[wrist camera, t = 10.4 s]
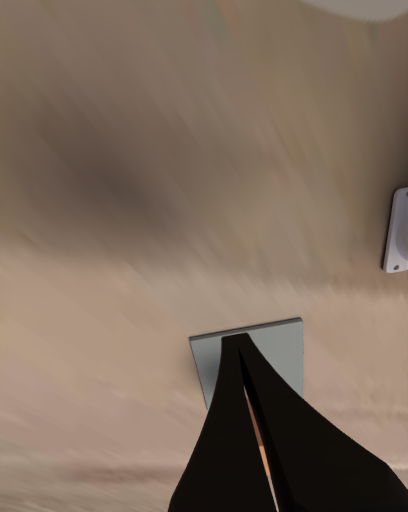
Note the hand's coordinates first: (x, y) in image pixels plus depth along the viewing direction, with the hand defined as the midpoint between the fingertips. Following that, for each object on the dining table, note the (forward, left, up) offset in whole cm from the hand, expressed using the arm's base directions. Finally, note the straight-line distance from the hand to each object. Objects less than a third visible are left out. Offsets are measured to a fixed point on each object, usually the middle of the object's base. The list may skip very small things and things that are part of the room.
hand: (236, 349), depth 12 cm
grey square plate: (-2, +14, -10) cm, 18 cm away
